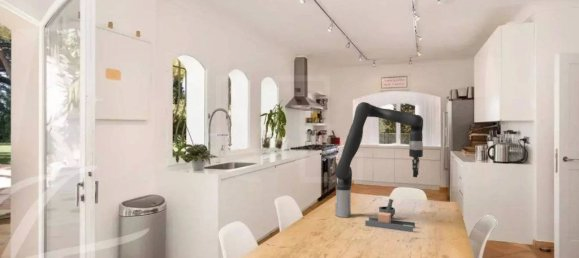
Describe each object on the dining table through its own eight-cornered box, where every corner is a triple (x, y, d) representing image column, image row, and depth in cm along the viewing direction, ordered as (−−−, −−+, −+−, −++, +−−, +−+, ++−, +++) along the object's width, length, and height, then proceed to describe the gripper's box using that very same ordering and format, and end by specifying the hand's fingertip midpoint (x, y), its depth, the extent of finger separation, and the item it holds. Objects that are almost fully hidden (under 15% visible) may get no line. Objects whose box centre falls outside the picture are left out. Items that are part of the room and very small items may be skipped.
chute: (365, 227, 198) (365, 220, 198) (369, 223, 206) (369, 216, 206) (412, 233, 186) (412, 226, 186) (414, 229, 194) (415, 222, 194)
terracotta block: (378, 226, 196) (378, 214, 196) (380, 223, 201) (380, 212, 201) (388, 228, 193) (388, 215, 193) (390, 225, 199) (390, 213, 199)
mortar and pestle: (389, 222, 208) (389, 202, 208) (376, 219, 215) (376, 200, 214) (398, 218, 216) (398, 199, 215) (385, 215, 222) (385, 197, 222)
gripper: (410, 147, 210) (410, 174, 211) (408, 149, 197) (407, 177, 198) (423, 148, 207) (423, 174, 207) (422, 149, 194) (421, 178, 194)
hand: (415, 176), depth 202 cm, fingers open, 8 cm apart
